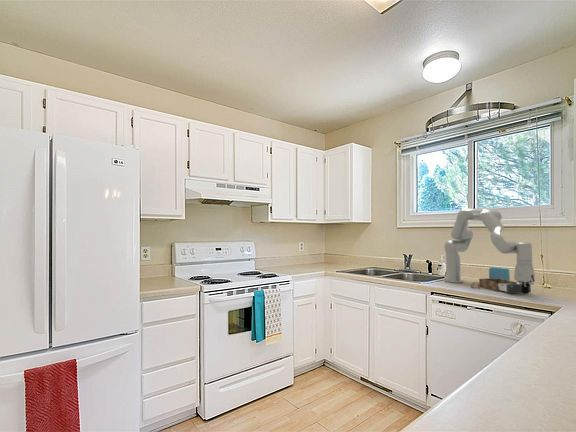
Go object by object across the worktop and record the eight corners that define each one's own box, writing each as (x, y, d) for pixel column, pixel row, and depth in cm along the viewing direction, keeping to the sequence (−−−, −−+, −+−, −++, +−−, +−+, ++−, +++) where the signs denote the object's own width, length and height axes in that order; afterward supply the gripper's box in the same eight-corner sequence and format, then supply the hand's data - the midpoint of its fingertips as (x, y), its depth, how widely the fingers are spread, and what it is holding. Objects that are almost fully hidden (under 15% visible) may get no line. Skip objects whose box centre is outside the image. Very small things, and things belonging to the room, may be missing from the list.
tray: (530, 292, 191) (530, 284, 191) (508, 292, 189) (508, 284, 189) (509, 287, 207) (509, 279, 207) (488, 287, 205) (488, 280, 206)
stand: (469, 287, 212) (469, 282, 212) (476, 287, 213) (475, 282, 213) (474, 288, 208) (474, 283, 208) (481, 288, 208) (480, 283, 208)
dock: (517, 290, 200) (516, 282, 200) (497, 291, 199) (496, 282, 199) (498, 286, 216) (497, 278, 216) (479, 286, 215) (479, 278, 215)
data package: (509, 284, 222) (509, 268, 222) (509, 285, 218) (508, 268, 219) (489, 283, 229) (489, 266, 230) (489, 283, 226) (488, 267, 226)
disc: (498, 287, 202) (498, 284, 202) (508, 287, 203) (507, 284, 203) (506, 289, 195) (506, 286, 195) (516, 289, 196) (516, 286, 196)
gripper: (508, 261, 194) (509, 290, 193) (529, 264, 179) (530, 296, 178) (519, 261, 194) (520, 290, 194) (541, 264, 180) (542, 295, 179)
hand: (525, 293), depth 186 cm, fingers closed
